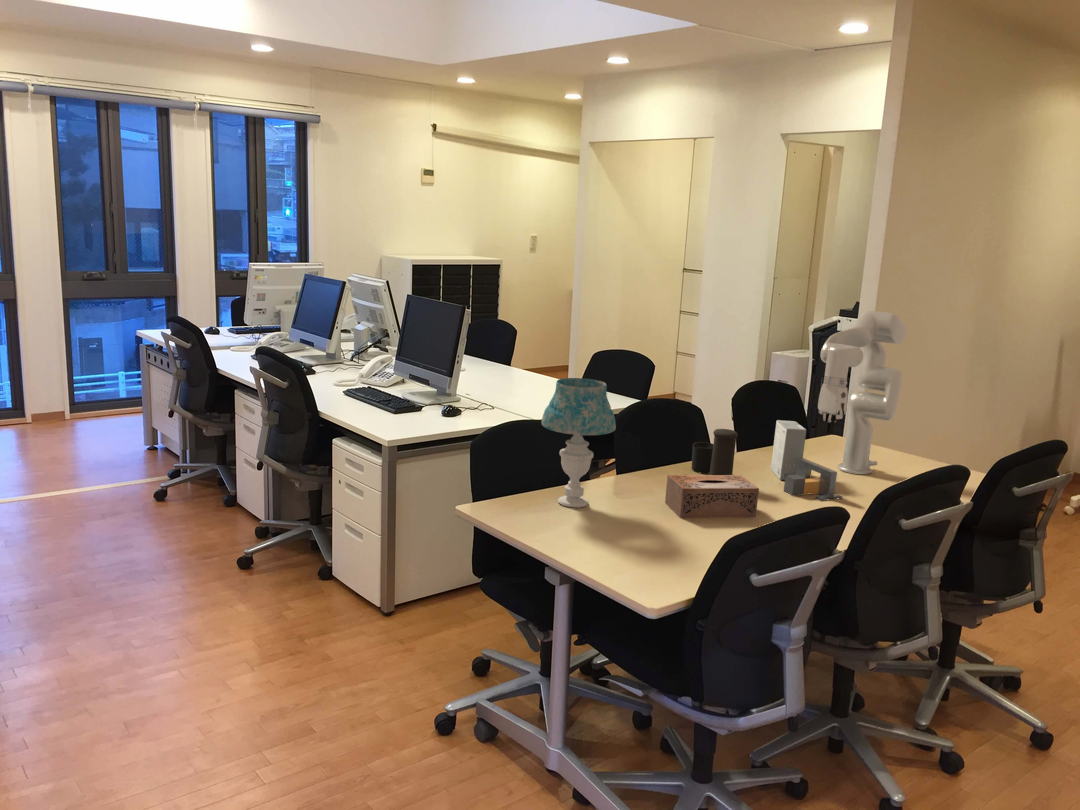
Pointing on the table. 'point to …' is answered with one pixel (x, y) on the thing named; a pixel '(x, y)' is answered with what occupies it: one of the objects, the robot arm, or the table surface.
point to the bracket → (826, 478)
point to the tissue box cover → (711, 496)
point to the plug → (800, 485)
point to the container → (723, 452)
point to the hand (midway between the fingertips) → (827, 432)
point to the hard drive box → (787, 448)
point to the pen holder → (702, 457)
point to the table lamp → (578, 428)
